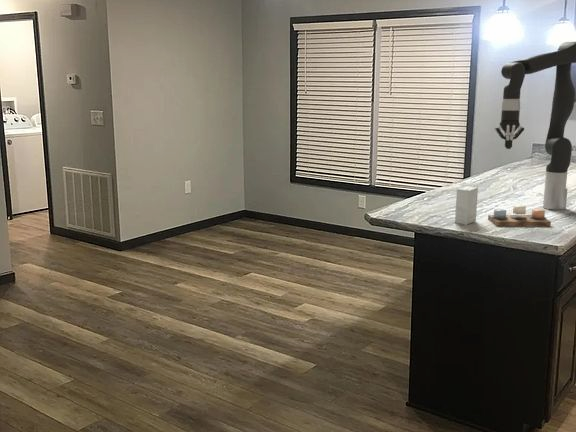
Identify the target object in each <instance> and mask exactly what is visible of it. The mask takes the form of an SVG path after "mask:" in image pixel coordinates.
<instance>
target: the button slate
mask: <svg viewBox="0 0 576 432" xmlns="http://www.w3.org/2000/svg"><path fill="white" fill-rule="evenodd" d="M493 215H494V218H501V219H502V218H506V215H507V210H506V209H503V208H495V209H493Z"/></svg>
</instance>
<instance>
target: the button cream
mask: <svg viewBox="0 0 576 432" xmlns="http://www.w3.org/2000/svg"><path fill="white" fill-rule="evenodd" d="M526 207H527V206H526V205H523V204H515V205H514V204H513V209H512V213H513V215H526V211H527V208H526Z"/></svg>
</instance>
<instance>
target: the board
mask: <svg viewBox="0 0 576 432" xmlns="http://www.w3.org/2000/svg"><path fill="white" fill-rule="evenodd" d="M487 220H488V221H489V222H491V223H492V224H493V225H495V226H496V227H551V222H552V221H551V220H549V219H547V217H546V216H544V218H542V219H538V218H532V214H506V218H502V219H501V218H494V214H488V216H487Z"/></svg>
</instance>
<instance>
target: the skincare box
mask: <svg viewBox="0 0 576 432" xmlns="http://www.w3.org/2000/svg"><path fill="white" fill-rule="evenodd" d="M478 193H479V188H478V187H474V186H468V185H465V186H463V187H460V188H456V198H455V199H456V200H455V212H454V213H455V214H454V215H455V217H454V222H455V223H456V224H461V225H466V224H467V225H468V224H472V223H474V222H476V221H477V211H478V210H477V208H478V195H479V194H478Z"/></svg>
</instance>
